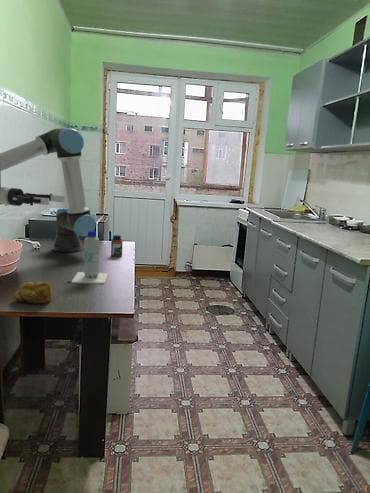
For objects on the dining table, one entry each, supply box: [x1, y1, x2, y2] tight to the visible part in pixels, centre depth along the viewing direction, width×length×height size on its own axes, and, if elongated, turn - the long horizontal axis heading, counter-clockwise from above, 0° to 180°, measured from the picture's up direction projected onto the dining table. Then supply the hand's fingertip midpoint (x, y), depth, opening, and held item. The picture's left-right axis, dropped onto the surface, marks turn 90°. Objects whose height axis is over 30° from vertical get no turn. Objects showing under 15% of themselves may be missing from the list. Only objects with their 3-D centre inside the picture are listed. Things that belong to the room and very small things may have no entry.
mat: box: [67, 271, 109, 285], centre depth 166 cm, size 14×15×1 cm
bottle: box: [83, 230, 101, 278], centre depth 165 cm, size 7×7×20 cm
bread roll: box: [13, 281, 53, 305], centre depth 136 cm, size 13×10×8 cm
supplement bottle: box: [110, 234, 123, 258], centre depth 208 cm, size 6×6×11 cm
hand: (57, 200), depth 166 cm, fingers open, 13 cm apart
